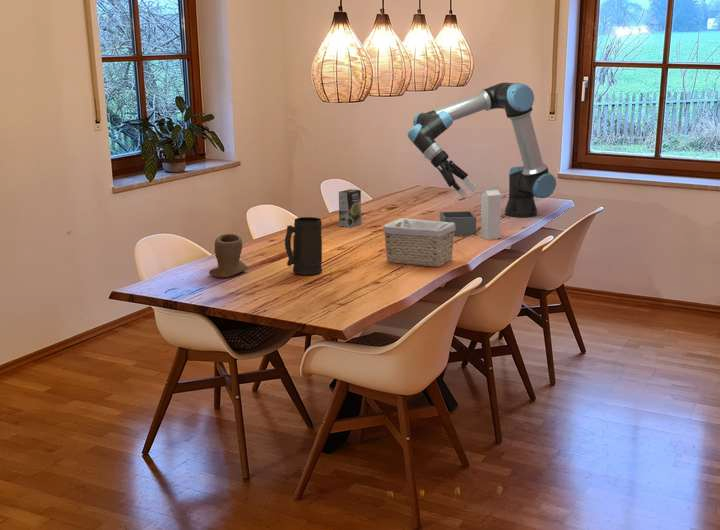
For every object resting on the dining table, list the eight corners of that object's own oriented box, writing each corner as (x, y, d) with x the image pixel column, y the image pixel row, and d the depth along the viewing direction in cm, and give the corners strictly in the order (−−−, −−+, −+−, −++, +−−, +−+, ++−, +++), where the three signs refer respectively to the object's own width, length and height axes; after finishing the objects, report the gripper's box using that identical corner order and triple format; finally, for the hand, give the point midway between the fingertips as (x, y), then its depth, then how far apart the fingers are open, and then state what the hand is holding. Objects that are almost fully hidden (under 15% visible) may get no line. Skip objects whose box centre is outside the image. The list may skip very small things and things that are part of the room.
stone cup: (228, 281, 305) (226, 240, 301) (204, 277, 311) (201, 236, 307) (257, 271, 316) (254, 232, 313) (233, 267, 323) (230, 228, 319)
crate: (470, 228, 380) (470, 211, 378) (476, 235, 367) (476, 217, 364) (440, 229, 379) (440, 212, 377) (444, 236, 366) (444, 218, 364)
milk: (480, 237, 363) (481, 186, 358) (493, 236, 366) (493, 184, 360) (487, 240, 358) (488, 188, 352) (500, 238, 360) (501, 186, 354)
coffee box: (349, 228, 387) (349, 192, 383) (338, 226, 391) (337, 191, 386) (362, 224, 394) (361, 189, 390) (351, 222, 398) (350, 188, 393)
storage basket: (381, 262, 326) (381, 224, 322) (401, 253, 340) (400, 216, 336) (439, 269, 315) (439, 230, 311) (456, 259, 328) (457, 222, 325)
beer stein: (308, 266, 322) (306, 214, 317) (329, 271, 315) (327, 217, 310) (279, 275, 311) (276, 221, 306) (300, 280, 304) (298, 225, 299)
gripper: (440, 157, 375) (472, 193, 373) (420, 165, 353) (454, 203, 351) (451, 146, 372) (484, 182, 369) (432, 153, 350) (467, 191, 347)
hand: (470, 192), depth 360 cm, fingers open, 13 cm apart
